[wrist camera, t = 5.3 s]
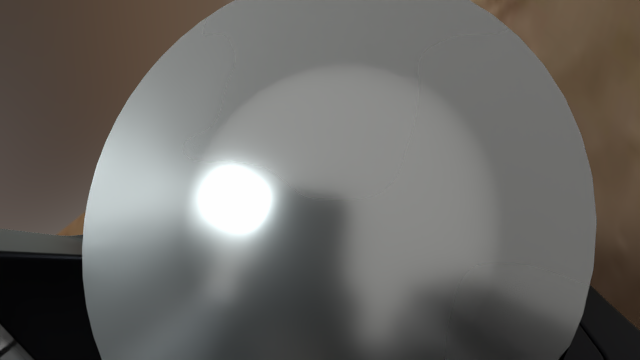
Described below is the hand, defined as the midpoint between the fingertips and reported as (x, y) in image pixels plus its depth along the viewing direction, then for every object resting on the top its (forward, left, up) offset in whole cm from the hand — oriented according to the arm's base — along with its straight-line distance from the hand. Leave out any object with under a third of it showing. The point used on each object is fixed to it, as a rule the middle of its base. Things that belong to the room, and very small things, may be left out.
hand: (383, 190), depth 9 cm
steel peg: (-1, +1, -7) cm, 7 cm away
